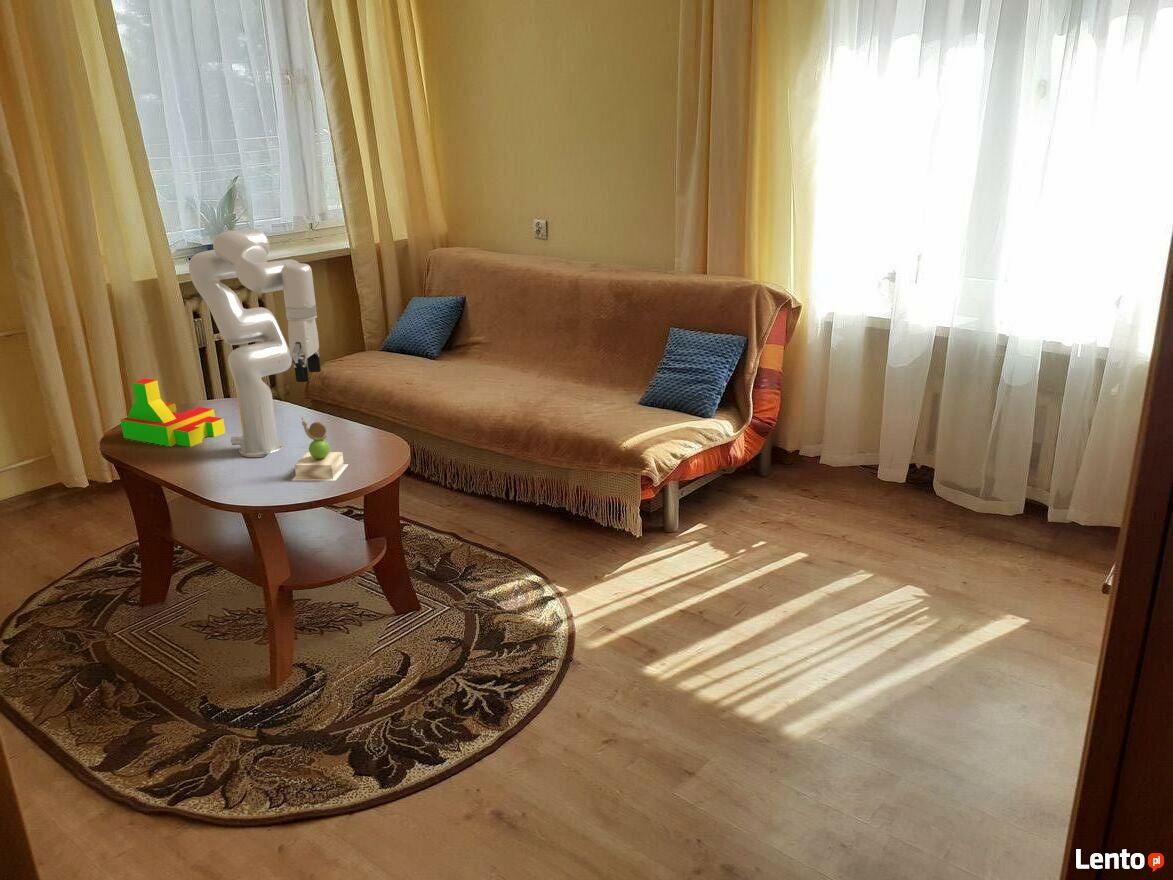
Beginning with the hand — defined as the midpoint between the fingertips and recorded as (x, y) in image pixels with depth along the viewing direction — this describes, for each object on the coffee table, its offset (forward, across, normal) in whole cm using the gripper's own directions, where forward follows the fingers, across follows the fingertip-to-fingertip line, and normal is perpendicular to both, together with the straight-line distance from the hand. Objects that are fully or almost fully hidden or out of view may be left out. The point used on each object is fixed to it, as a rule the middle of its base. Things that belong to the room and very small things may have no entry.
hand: (309, 376), depth 244 cm
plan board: (+28, -1, -3) cm, 28 cm away
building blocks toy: (+29, -34, -56) cm, 72 cm away
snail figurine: (+23, 0, 0) cm, 23 cm away
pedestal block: (+27, 0, 0) cm, 27 cm away
